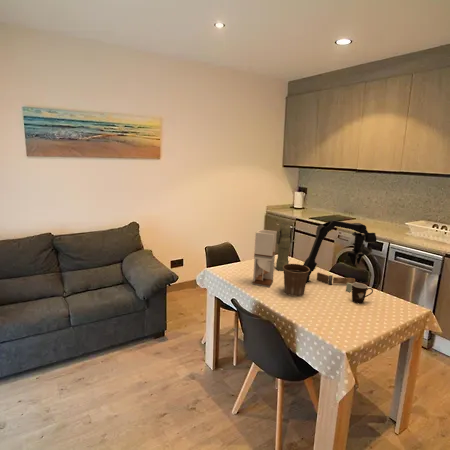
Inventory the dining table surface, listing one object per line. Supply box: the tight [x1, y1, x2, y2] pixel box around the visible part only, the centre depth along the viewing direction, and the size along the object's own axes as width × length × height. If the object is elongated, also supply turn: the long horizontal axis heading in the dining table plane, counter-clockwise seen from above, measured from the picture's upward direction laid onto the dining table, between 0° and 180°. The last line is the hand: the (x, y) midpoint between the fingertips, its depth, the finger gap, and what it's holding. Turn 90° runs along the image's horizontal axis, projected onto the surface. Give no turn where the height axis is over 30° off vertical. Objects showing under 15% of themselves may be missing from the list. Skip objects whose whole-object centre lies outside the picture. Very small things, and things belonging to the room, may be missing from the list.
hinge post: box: [316, 272, 334, 286], centre depth 224 cm, size 2×11×6 cm, turn 43°
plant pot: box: [283, 263, 310, 297], centre depth 204 cm, size 16×16×16 cm
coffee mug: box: [351, 282, 374, 305], centre depth 195 cm, size 12×9×10 cm
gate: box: [332, 276, 356, 285], centre depth 221 cm, size 14×2×4 cm, turn 88°
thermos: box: [275, 222, 293, 272], centre depth 245 cm, size 9×12×35 cm
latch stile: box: [345, 283, 352, 293], centre depth 210 cm, size 2×3×6 cm, turn 43°
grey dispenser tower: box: [252, 229, 278, 288], centre depth 215 cm, size 11×11×35 cm
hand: (356, 264), depth 223 cm, fingers open, 6 cm apart
